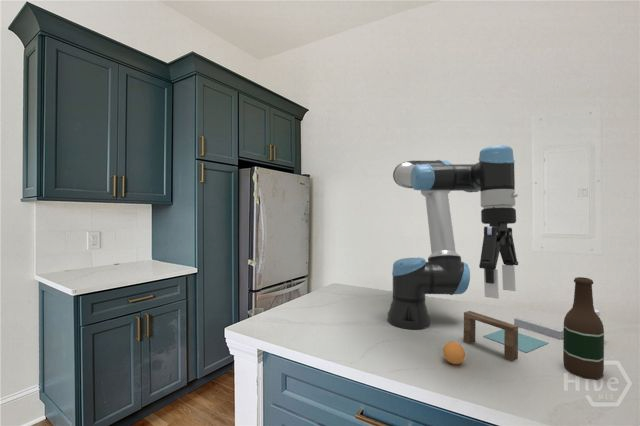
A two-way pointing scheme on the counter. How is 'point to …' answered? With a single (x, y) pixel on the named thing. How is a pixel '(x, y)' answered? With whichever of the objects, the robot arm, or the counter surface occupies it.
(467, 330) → the bridge
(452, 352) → the ball
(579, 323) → the beer bottle
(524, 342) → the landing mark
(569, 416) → the counter surface
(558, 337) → the wall
